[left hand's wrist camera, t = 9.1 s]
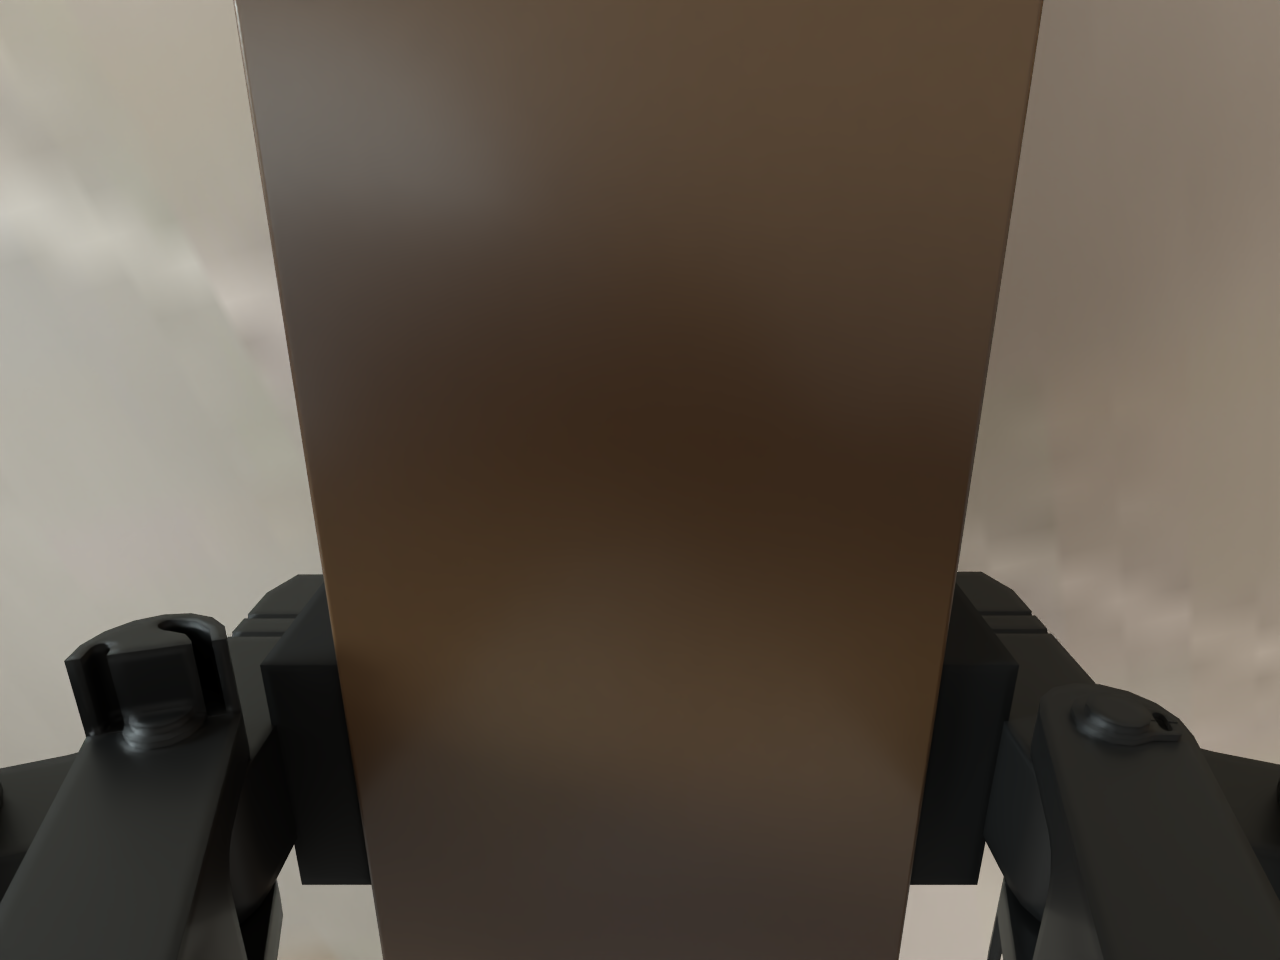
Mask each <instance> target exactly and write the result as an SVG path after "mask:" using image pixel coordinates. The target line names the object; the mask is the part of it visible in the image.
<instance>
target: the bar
mask: <svg viewBox="0 0 1280 960" xmlns="http://www.w3.org/2000/svg"><path fill="white" fill-rule="evenodd" d="M233 2H234V8H235V15H236V21H237V27H238V34H239V40H240V47H241V53H242V59H243V66H244V72H245V78H246V85H247V91H248V98H249V104H250V110H251V117H252V123H253V130H254V136H255V142H256V149H257V155H258V162H259V168H260V174H261V181H262V187H263V194H264V200H265V206H266V213H267V219H268V225H269V232H270V238H271V245H272V251H273V257H274V264H275V270H276V277H277V283H278V289H279V296H280V302H281V309H282V315H283V321H284V328H285V334H286V341H287V347H288V353H289V360H290V366H291V372H292V379H293V385H294V392H295V398H296V404H297V411H298V417H299V424H300V430H301V436H302V443H303V449H304V456H305V462H306V468H307V475H308V481H309V488H310V494H311V500H312V507H313V513H314V519H315V526H316V532H317V539H318V545H319V551H320V558H321V564H322V571H323V577H324V583H325V590H326V596H327V603H328V609H329V615H330V622H331V628H332V635H333V641H334V647H335V654H336V660H337V666H338V673H339V679H340V686H341V692H342V698H343V705H344V711H345V718H346V724H347V730H348V737H349V743H350V750H351V756H352V762H353V769H354V775H355V782H356V788H357V794H358V801H359V807H360V813H361V820H362V826H363V833H364V839H365V845H366V852H367V858H368V865H369V871H370V877H371V884H372V890H373V897H374V903H375V909H376V916H377V922H378V928H379V935H380V941H381V948H382V954H383V960H899V953H900V946H901V940H902V933H903V926H904V920H905V913H906V907H907V900H908V893H909V887H910V880H911V873H912V867H913V860H914V854H915V847H916V840H917V834H918V827H919V821H920V814H921V807H922V801H923V794H924V787H925V781H926V774H927V768H928V761H929V754H930V748H931V741H932V734H933V728H934V721H935V715H936V708H937V701H938V695H939V688H940V682H941V675H942V668H943V662H944V655H945V648H946V642H947V635H948V629H949V622H950V615H951V609H952V602H953V595H954V589H955V582H956V576H957V569H958V562H959V556H960V549H961V542H962V536H963V529H964V523H965V516H966V509H967V503H968V496H969V490H970V483H971V476H972V470H973V463H974V456H975V450H976V443H977V437H978V430H979V423H980V417H981V410H982V403H983V397H984V390H985V384H986V377H987V370H988V364H989V357H990V350H991V344H992V337H993V331H994V324H995V317H996V311H997V304H998V298H999V291H1000V284H1001V278H1002V271H1003V264H1004V258H1005V251H1006V245H1007V238H1008V231H1009V225H1010V218H1011V211H1012V205H1013V198H1014V192H1015V185H1016V178H1017V172H1018V165H1019V159H1020V152H1021V145H1022V139H1023V132H1024V125H1025V119H1026V112H1027V106H1028V99H1029V92H1030V86H1031V79H1032V72H1033V66H1034V59H1035V53H1036V46H1037V39H1038V33H1039V26H1040V19H1041V13H1042V6H1043V0H233Z"/></svg>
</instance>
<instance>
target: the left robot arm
mask: <svg viewBox="0 0 1280 960" xmlns="http://www.w3.org/2000/svg"><path fill="white" fill-rule="evenodd" d="M1031 613H1032V611H1031V610H1030V609H1029V608H1028V607H1027V606H1026V604H1025V603H1024V602H1023V601H1022V600H1021V599H1020V598H1019V597H1018V595H1017V594H1016V593H1015V592H1014V591H1013V590H1012V589H1010V588H1008V587H1007V586H1005V585H1003V584H1001V583H1000V582H998V581H996V580H995V579H993V578H991V577H989V576H988V575H986V574H984V573H983V572H957V576H956V582H955V589H954V595H953V602H952V609H951V615H950V622H949V629H948V635H947V642H946V648H945V655H944V662H943V668H942V675H941V682H940V688H939V695H938V701H937V708H936V715H935V721H934V728H933V734H932V741H931V748H930V754H929V761H928V768H927V774H926V781H925V787H924V794H923V801H922V807H921V814H920V821H919V827H918V834H917V840H916V847H915V854H914V860H913V867H912V873H911V880H910V885H977V883H978V878H979V873H980V867H981V862H982V857H983V852H984V847H985V841H986V843H987V845H988V847H989V848H990V850H991V852H992V854H993V856H994V858H995V860H996V862H997V864H998V866H999V868H1000V870H1001V872H1002V874H1003V876H1004V878H1003V883H1002V888H1001V893H1000V898H999V903H998V907H997V912H996V917H995V922H994V927H993V932H992V937H991V941H990V946H989V951H988V958H987V960H1000V958H1001V954H1003V960H1280V765H1279V764H1273V763H1268V762H1263V761H1258V760H1253V759H1248V758H1243V757H1238V756H1232V755H1227V754H1222V753H1217V752H1212V751H1208V750H1205V749H1201V748H1200V747H1199V745H1198V743H1197V741H1196V739H1195V737H1194V736H1193V735H1192V733H1191V732H1190V731H1189V730H1188V729H1187V727H1186V726H1185V725H1184V724H1183V723H1182V722H1181V720H1180V719H1179V718H1177V717H1176V716H1174V715H1173V714H1171V713H1170V712H1168V711H1167V710H1165V709H1164V708H1162V707H1161V706H1159V705H1158V704H1157V703H1154V702H1152V701H1150V700H1147V699H1145V698H1143V697H1140V696H1138V695H1136V694H1133V693H1131V692H1129V691H1125V690H1121V689H1116V688H1112V687H1108V686H1104V685H1100V684H1096V683H1095V682H1094V681H1093V680H1092V679H1091V678H1090V677H1089V676H1088V674H1087V673H1086V672H1085V671H1084V670H1083V669H1082V668H1081V667H1080V665H1079V664H1078V663H1077V662H1076V661H1075V660H1074V659H1073V657H1072V656H1071V655H1070V654H1069V653H1068V652H1067V651H1066V650H1065V648H1064V647H1063V646H1062V645H1061V644H1060V643H1059V642H1058V641H1057V639H1056V638H1055V637H1054V636H1053V635H1052V634H1048V633H1047V628H1046V627H1045V626H1044V625H1043V624H1042V623H1041V621H1040V620H1039V619H1038V618H1037V617H1036V616H1032V614H1031ZM232 633H233V635H232V637H228V638H227V636H226V631H225V626H224V625H222V624H221V623H219V622H218V621H217V620H215V619H214V618H213V617H208V616H202V615H197V614H192V613H189V614H166V615H160V616H155V617H150V618H145V619H140V620H136V621H132V622H129V623H127V624H124V625H121V626H118V627H116V628H113V629H110V630H108V631H105V632H103V633H101V634H99V635H98V636H96V637H94V638H92V639H91V640H89V641H87V642H85V643H84V644H82V645H80V646H79V647H78V648H77V649H76V650H75V651H74V652H73V653H72V654H71V655H70V656H69V657H68V658H67V659H66V660H65V661H64V662H65V665H66V669H67V672H68V676H69V679H70V683H71V686H72V689H73V693H74V696H75V700H76V703H77V707H78V710H79V713H80V717H81V720H82V724H83V727H84V731H85V734H86V739H85V741H84V743H83V745H82V747H81V749H80V751H79V752H78V753H74V754H70V755H66V756H61V757H56V758H51V759H46V760H41V761H36V762H31V763H26V764H21V765H16V766H11V767H6V768H1V769H0V960H277V956H278V949H279V941H280V934H281V926H282V918H283V912H282V905H281V898H280V893H279V888H278V883H277V877H278V875H279V873H280V871H281V869H282V867H283V865H284V863H285V861H286V859H287V857H288V855H289V853H290V851H291V849H292V847H293V845H295V850H296V855H297V861H298V866H299V871H300V876H301V881H302V885H372V884H371V877H370V871H369V865H368V858H367V852H366V845H365V839H364V833H363V826H362V820H361V813H360V807H359V801H358V794H357V788H356V782H355V775H354V769H353V762H352V756H351V750H350V743H349V737H348V730H347V724H346V718H345V711H344V705H343V698H342V692H341V686H340V679H339V673H338V666H337V660H336V654H335V647H334V641H333V635H332V628H331V622H330V615H329V609H328V603H327V596H326V590H325V583H324V577H323V575H297V576H295V577H293V578H291V579H290V580H288V581H286V582H285V583H283V584H281V585H279V586H278V587H276V588H274V589H273V590H271V591H269V592H268V593H266V594H265V596H264V597H263V598H262V599H261V600H260V601H259V602H258V604H257V605H256V606H255V607H254V608H253V609H252V610H251V612H250V613H249V614H248V619H244V620H243V621H242V622H241V623H240V624H239V625H238V626H237V627H236V629H235V630H234V631H233V632H232Z"/></svg>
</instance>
